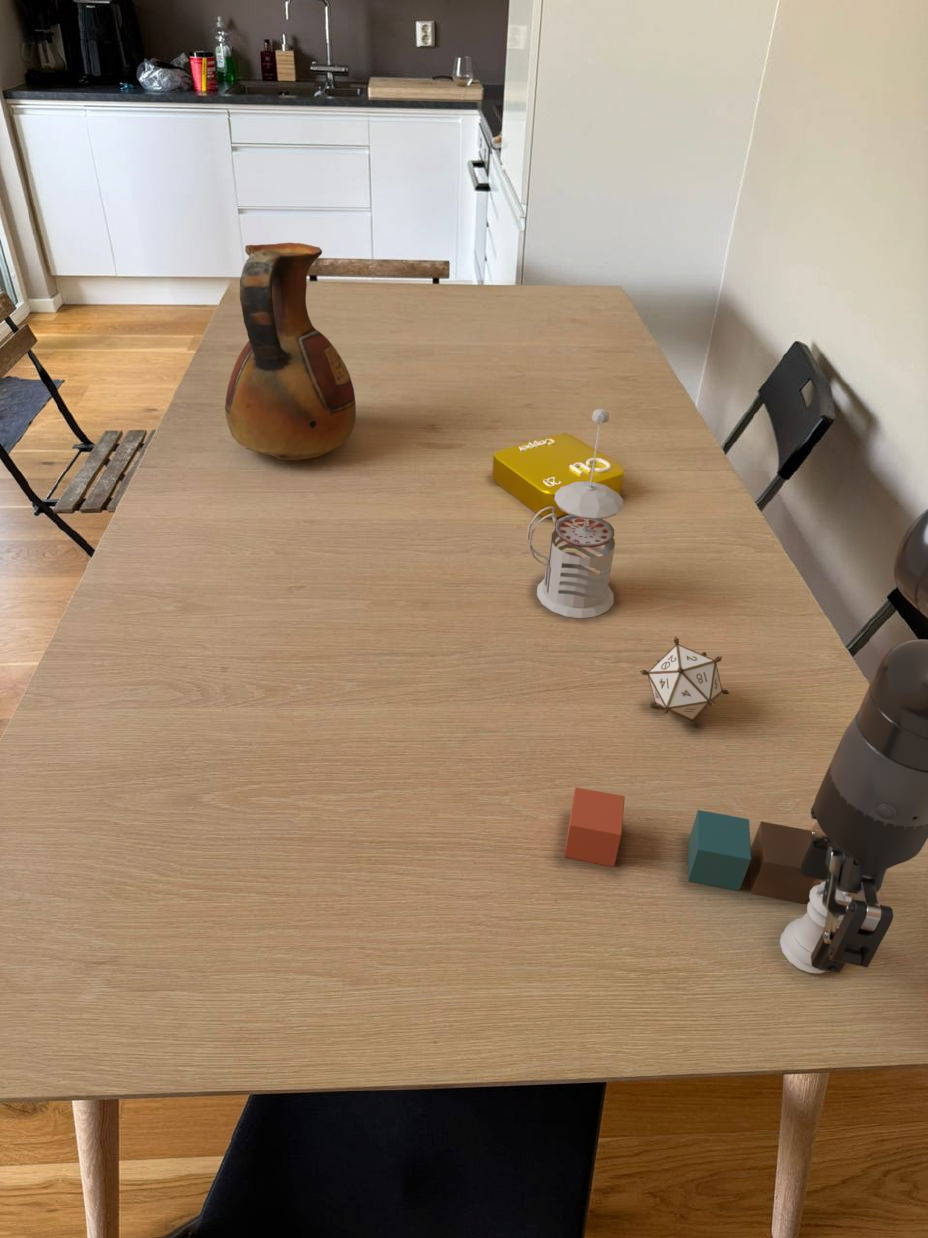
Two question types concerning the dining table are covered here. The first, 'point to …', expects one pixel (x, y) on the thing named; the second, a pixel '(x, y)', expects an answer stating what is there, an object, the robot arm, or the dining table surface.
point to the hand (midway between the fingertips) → (818, 918)
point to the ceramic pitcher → (286, 363)
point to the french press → (580, 547)
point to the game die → (685, 682)
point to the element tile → (551, 470)
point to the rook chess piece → (808, 930)
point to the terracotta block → (595, 827)
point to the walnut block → (780, 862)
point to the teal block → (719, 850)
